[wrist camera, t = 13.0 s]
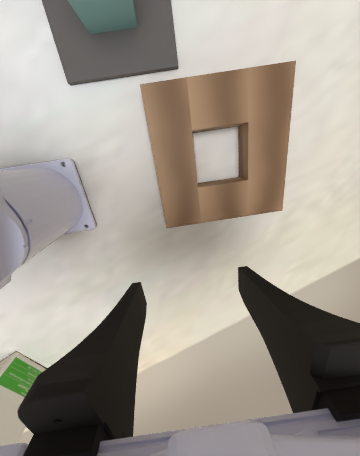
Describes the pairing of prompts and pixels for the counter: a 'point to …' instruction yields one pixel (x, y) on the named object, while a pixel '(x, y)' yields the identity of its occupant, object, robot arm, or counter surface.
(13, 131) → the counter surface
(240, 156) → the wooden square hole board
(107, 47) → the rubber mat
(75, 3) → the teal plug
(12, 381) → the skincare box
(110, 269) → the counter surface
